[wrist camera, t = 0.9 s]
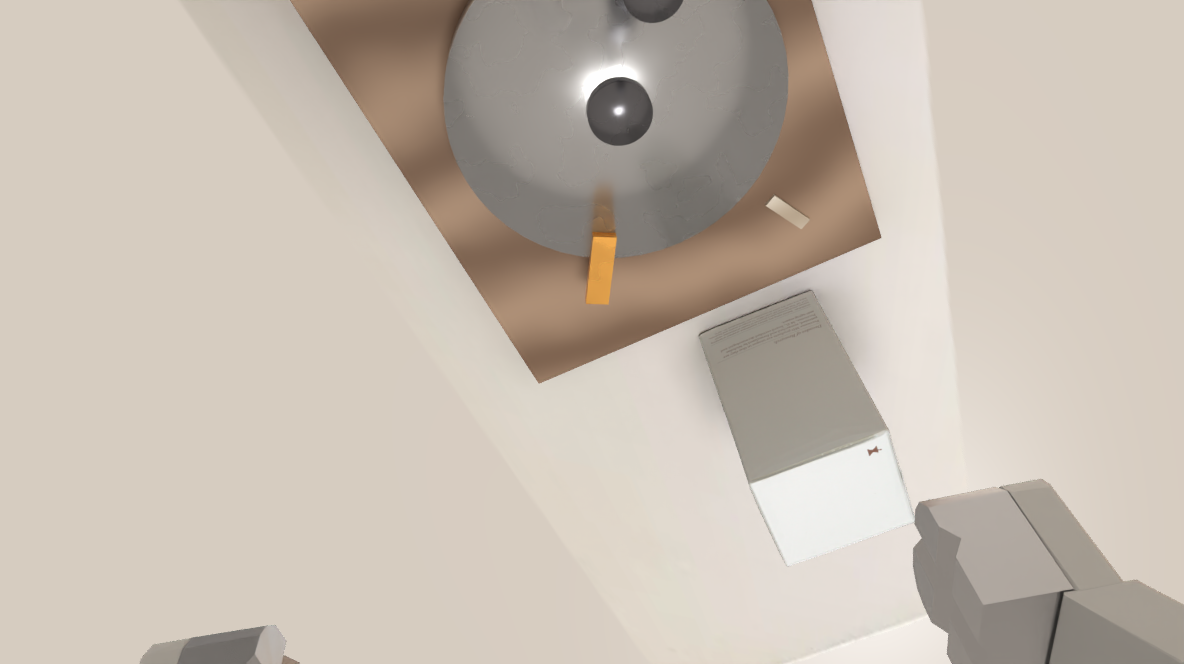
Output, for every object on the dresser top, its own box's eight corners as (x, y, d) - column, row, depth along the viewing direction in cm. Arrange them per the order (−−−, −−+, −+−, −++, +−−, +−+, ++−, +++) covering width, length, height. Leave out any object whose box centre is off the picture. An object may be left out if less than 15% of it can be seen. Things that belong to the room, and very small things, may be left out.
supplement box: (694, 332, 53) (745, 482, 42) (813, 286, 52) (894, 429, 41) (730, 416, 57) (784, 571, 47) (841, 375, 56) (921, 525, 46)
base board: (243, -92, 38) (234, -84, 36) (700, -348, 34) (709, -350, 33) (537, 368, 53) (538, 385, 52) (871, 224, 50) (882, 239, 48)
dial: (735, 288, 49) (765, 357, 44) (444, 279, 47) (439, 352, 42) (814, -70, 39) (867, -36, 33) (444, -102, 36) (437, -71, 31)
